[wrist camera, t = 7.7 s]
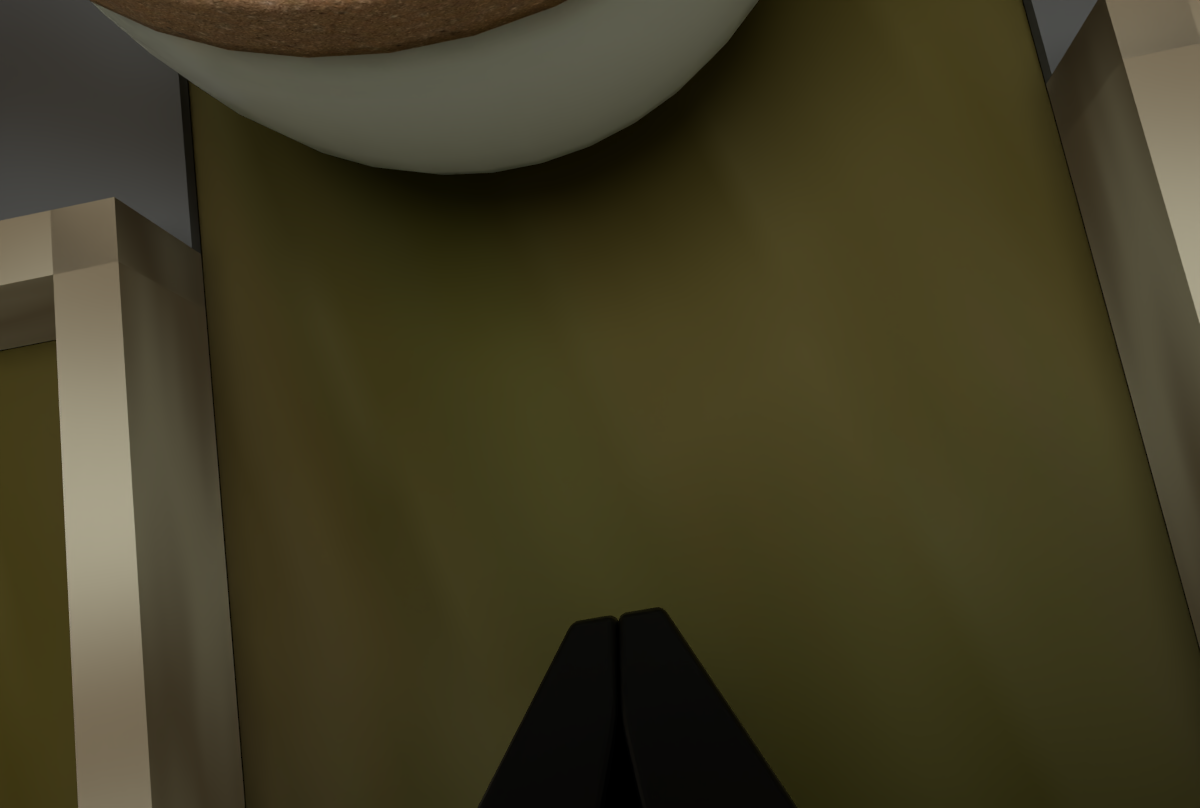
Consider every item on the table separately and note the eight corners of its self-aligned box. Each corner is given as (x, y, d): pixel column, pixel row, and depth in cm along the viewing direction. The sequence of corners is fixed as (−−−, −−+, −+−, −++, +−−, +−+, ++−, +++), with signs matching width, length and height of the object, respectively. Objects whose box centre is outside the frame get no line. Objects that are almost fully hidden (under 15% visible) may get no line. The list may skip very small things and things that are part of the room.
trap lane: (1845, 1198, 12) (2367, 1476, 8) (-83, 1388, 14) (-384, 1678, 11) (1196, -594, 18) (1325, -925, 14) (-107, -261, 20) (-306, -466, 16)
